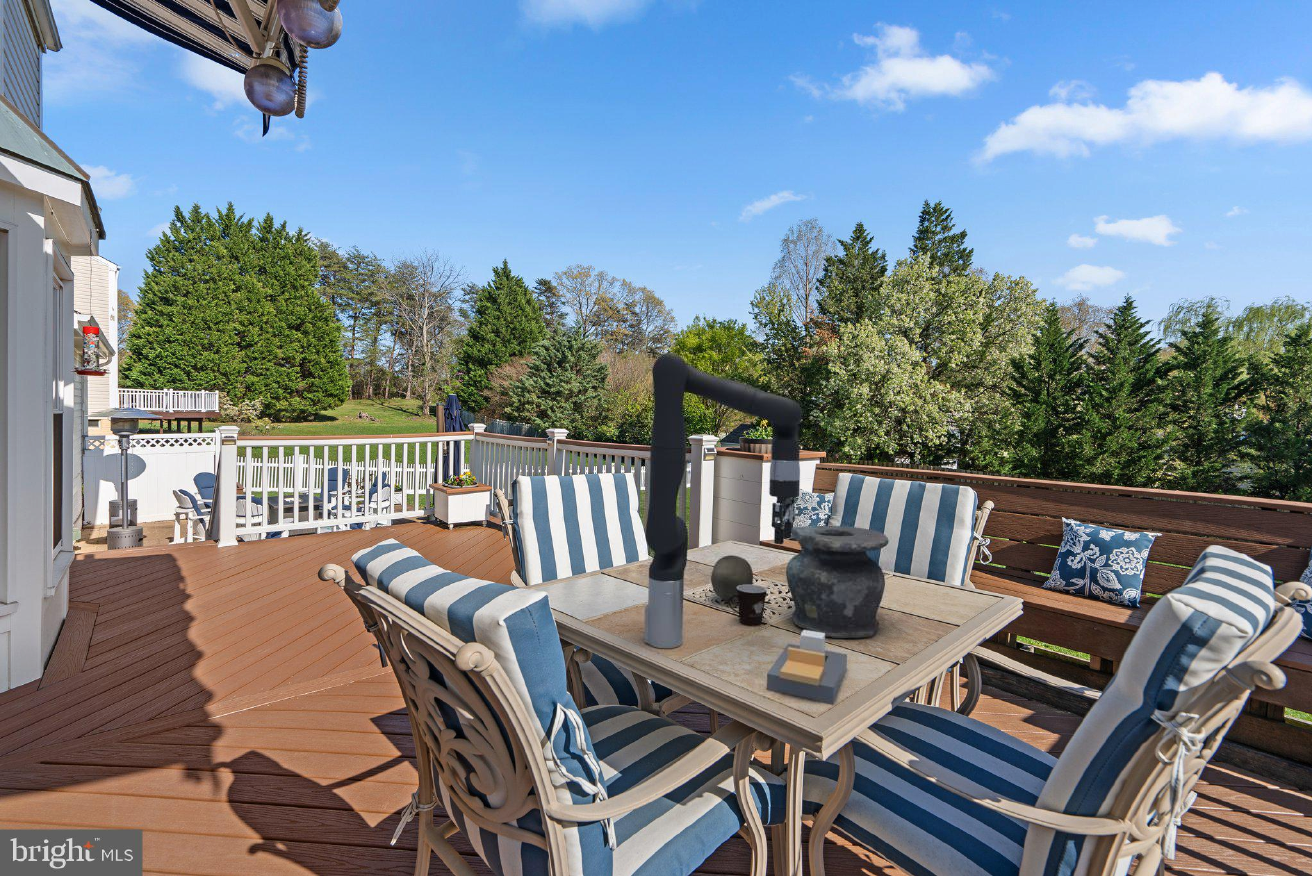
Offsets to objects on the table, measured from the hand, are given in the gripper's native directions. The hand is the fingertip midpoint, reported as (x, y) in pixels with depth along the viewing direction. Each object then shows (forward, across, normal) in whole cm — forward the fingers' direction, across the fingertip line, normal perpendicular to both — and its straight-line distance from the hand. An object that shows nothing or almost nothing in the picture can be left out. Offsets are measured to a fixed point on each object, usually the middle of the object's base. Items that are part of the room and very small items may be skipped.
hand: (782, 541), depth 148 cm
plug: (+28, +10, +10) cm, 31 cm away
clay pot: (+28, -27, +9) cm, 40 cm away
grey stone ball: (+28, -33, -24) cm, 50 cm away
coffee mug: (+28, -16, -14) cm, 35 cm away
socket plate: (+28, +14, +10) cm, 33 cm away
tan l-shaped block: (+24, +21, +10) cm, 34 cm away
